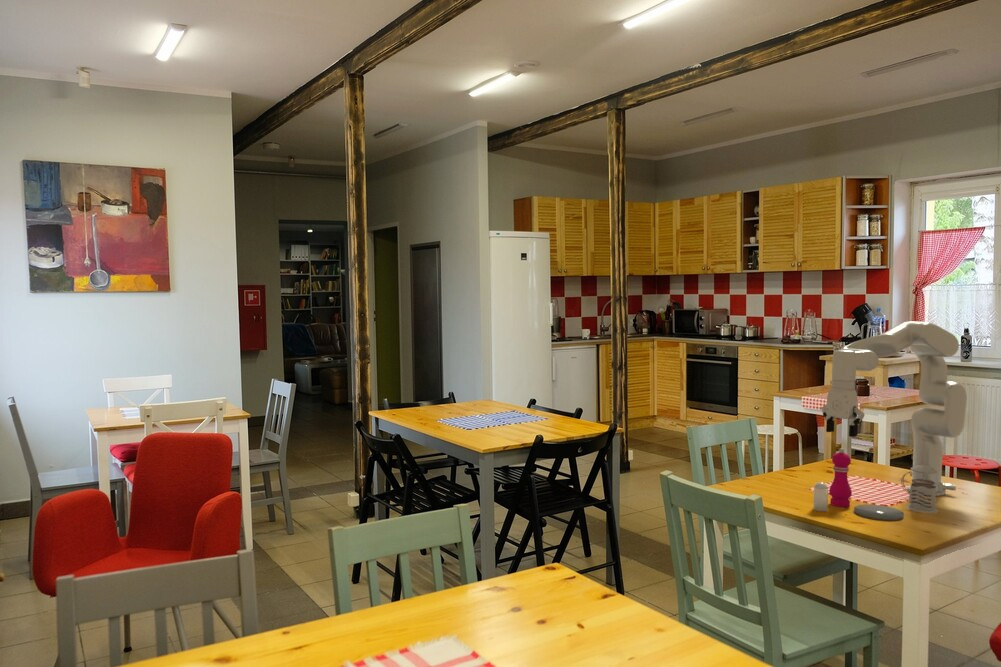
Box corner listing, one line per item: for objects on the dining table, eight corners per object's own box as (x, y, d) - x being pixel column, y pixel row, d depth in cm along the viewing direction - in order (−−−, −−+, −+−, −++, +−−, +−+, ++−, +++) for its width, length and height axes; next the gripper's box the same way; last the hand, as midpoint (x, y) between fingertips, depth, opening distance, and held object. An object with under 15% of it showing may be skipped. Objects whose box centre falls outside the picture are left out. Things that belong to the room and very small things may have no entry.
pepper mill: (854, 504, 270) (856, 448, 269) (847, 508, 264) (848, 451, 263) (833, 500, 275) (834, 445, 274) (825, 504, 269) (827, 448, 268)
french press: (934, 514, 258) (937, 441, 256) (897, 508, 266) (899, 436, 264) (941, 509, 265) (944, 437, 264) (905, 502, 273) (907, 433, 272)
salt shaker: (827, 508, 264) (828, 481, 263) (827, 512, 260) (827, 484, 260) (813, 507, 266) (814, 480, 265) (813, 510, 262) (813, 483, 261)
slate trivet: (902, 511, 262) (902, 507, 262) (904, 522, 248) (905, 519, 248) (854, 505, 268) (854, 502, 268) (853, 516, 254) (854, 513, 254)
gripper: (815, 383, 274) (813, 430, 274) (856, 388, 258) (854, 439, 259) (831, 382, 277) (829, 429, 277) (872, 387, 261) (870, 437, 262)
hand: (841, 434), depth 268 cm, fingers open, 9 cm apart
